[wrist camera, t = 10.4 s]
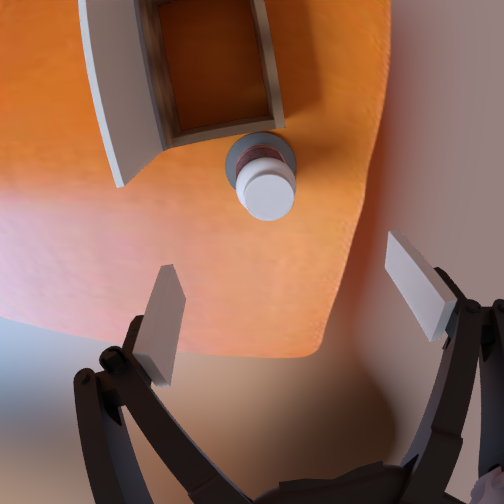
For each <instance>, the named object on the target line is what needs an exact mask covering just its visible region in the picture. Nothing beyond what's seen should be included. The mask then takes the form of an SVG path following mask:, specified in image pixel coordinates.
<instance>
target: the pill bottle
mask: <svg viewBox="0 0 504 504" xmlns="http://www.w3.org/2000/svg"><path fill="white" fill-rule="evenodd" d="M236 192H237V196H238V199H239V200H240V202H241V203H242V205H243V206H244V207H245V208H246V209H247V210H248V211H249V213H250V214H251V215H253V216H254V217H256V218H258V219H260V220H264V221H273V220H277V219H279V218H281V217H283V216H285V215H286V214H287V213H288V212H289V211H290V209H291V207H292V205H293V203H294V196H295V192H296V180H295V177H294V174H293V172H292V170H291V169H290V167H289V166H288V164H287V162H286V161H285V159H284V157H283V156H282V154H281V153H280V152H279V151H278V150H277V149H275V148H274V147H272V146H269V145H265V144H257V145H253V146H251V147H249V148H247V149H246V150H244V151H243V152H242V153H241V155H240V156H239V158H238V161H237V165H236Z"/></svg>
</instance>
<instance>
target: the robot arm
mask: <svg viewBox="0 0 504 504" xmlns="http://www.w3.org/2000/svg"><path fill="white" fill-rule="evenodd" d="M385 269H386V270H387V272H388V273H389V275H390V276H391V278H392V280H393V281H394V283H395V284H396V286H397V287H398V289H399V290H400V292H401V294H402V295H403V297H404V298H405V300H406V302H407V303H408V305H409V307H410V308H411V310H412V312H413V313H414V315H415V317H416V318H417V320H418V322H419V323H420V325H421V327H422V329H423V330H424V332H425V334H426V336H427V338H428V339H429V341H430V342H432V341H435V340H438V339H441V338H442V336H443V334H444V331H446V333H447V334H448V337H447V339H446V342H445V344H444V346H443V349H444V351H443V355H442V359H441V363H440V367H439V370H438V374H437V377H436V380H435V384H434V387H433V390H432V393H431V396H430V399H429V402H428V404H427V407H426V410H425V413H424V415H423V418H422V421H421V423H420V426H419V428H418V431H417V433H416V435H415V438H414V440H413V442H412V444H411V447H410V449H409V451H408V453H407V454H406V455H405V457H404V458H403V460H402V462H401V464H400V465H399V466H396V465H387V464H385V465H383V462H382V461H379V462H376V463H372V464H369V465H365V466H362V467H358V468H356V469H354V470H352V471H350V472H348V473H346V474H344V475H342V476H340V477H338V478H335V479H332V480H325V479H300V480H292V481H284V482H279V486H277V487H274V488H272V489H270V490H268V491H266V492H264V493H263V494H261V495H260V496H259V497H257V498H256V499H255V500H254V501H253V500H252V499H251V498H250V497H248V496H247V495H246V494H245V493H244V492H243V491H242V490H241V489H239V488H238V487H237V486H236V485H235V484H234V483H233V482H232V481H231V480H230V479H229V478H228V477H227V476H226V475H225V474H224V473H223V472H222V471H221V470H220V469H219V468H218V467H217V466H216V465H214V463H213V462H212V461H211V460H210V459H209V458H208V457H207V456H206V455H205V454H204V453H203V452H202V450H201V449H200V448H199V447H198V446H197V445H196V444H195V443H194V441H193V440H192V439H191V438H190V437H189V436H188V434H187V433H186V432H185V431H184V430H183V429H182V428H181V426H180V425H179V424H178V423H177V422H176V420H175V419H174V418H173V416H172V415H171V414H170V413H169V411H168V410H167V409H166V407H164V405H163V403H162V402H161V401H160V400H159V398H158V397H157V395H156V394H155V393H154V392H153V390H152V389H151V382H153V383H154V384H155V386H157V387H163V386H170V384H171V378H172V372H173V365H174V360H175V354H176V349H177V343H178V338H179V332H180V327H181V322H182V316H183V311H184V306H185V301H186V298H185V295H184V293H183V290H182V287H181V285H180V282H179V279H178V277H177V274H176V271H175V269H174V266H173V264H171V265H165V266H161V268H160V271H159V274H158V276H157V279H156V282H155V285H154V288H153V290H152V293H151V296H150V299H149V302H148V305H147V308H146V311H145V314H144V315H139V316H136V317H135V318H134V319H133V320H132V322H131V323H130V326H129V329H128V332H127V335H126V338H125V341H124V343H123V346H122V348H120V347H118V346H111V347H109V348H107V349H106V350H104V351H103V352H102V354H101V356H100V358H99V362H100V365H101V366H102V367H103V368H104V371H101V372H98V373H95V372H94V371H93V370H92V369H90V368H84V369H81V370H80V371H79V372H78V373H77V374H76V375H75V377H74V382H73V383H74V395H75V404H76V413H77V420H78V428H79V434H80V439H81V446H82V451H83V456H84V460H85V465H86V470H87V473H88V478H89V482H90V486H91V490H92V493H93V496H94V500H95V503H96V504H154V503H153V501H152V498H151V496H150V494H149V491H148V489H147V487H146V484H145V481H144V479H143V476H142V473H141V471H140V468H139V465H138V462H137V460H136V456H135V453H134V450H133V447H132V444H131V441H130V438H129V434H128V431H127V427H126V424H125V421H124V417H123V413H122V409H121V406H124V405H126V407H127V408H128V410H129V412H130V413H131V415H132V417H133V418H134V420H135V421H136V423H137V425H138V426H139V428H140V429H141V431H142V432H143V433H144V435H145V437H146V438H147V440H148V441H149V443H150V444H151V445H152V447H153V448H154V450H155V451H156V452H157V454H158V455H159V456H160V458H161V459H162V460H163V462H164V463H165V464H166V466H167V467H168V468H169V470H170V471H171V472H172V473H173V475H174V476H175V477H176V479H177V480H178V481H179V482H180V483H181V484H182V486H183V487H184V488H185V489H186V491H187V492H188V496H189V498H190V499H191V500H192V501H193V503H194V504H466V503H464V502H462V501H460V500H458V499H457V498H455V497H453V496H451V495H449V494H448V493H446V492H444V491H445V489H446V487H447V484H448V482H449V480H450V477H451V475H452V472H453V470H454V467H455V464H456V462H457V459H458V456H459V453H460V451H461V448H462V444H463V438H461V432H462V429H463V426H464V422H465V418H466V415H467V411H468V407H469V402H470V398H471V394H472V390H473V385H474V379H475V374H476V368H477V362H478V357H479V368H480V382H481V437H480V451H479V465H478V473H479V474H478V475H479V479H478V481H477V482H476V484H475V485H474V488H473V489H472V491H471V497H472V500H471V502H470V503H469V504H504V300H503V299H497V300H495V301H494V303H493V305H492V307H481V305H480V304H479V303H478V302H477V301H474V300H471V299H467V298H466V297H465V296H464V294H463V293H462V292H461V291H460V289H459V288H458V287H457V285H456V284H454V282H453V280H452V279H450V277H449V276H448V274H447V273H446V272H445V271H443V270H442V269H440V268H439V267H436V268H433V267H432V266H431V265H430V264H429V263H428V262H427V260H426V259H425V258H424V257H423V256H422V254H421V253H420V252H419V251H418V250H417V249H416V248H415V246H414V245H413V244H412V243H411V242H410V241H409V240H408V238H407V237H406V236H405V235H404V234H403V233H402V232H401V231H400V230H399V229H398V230H392V231H389V233H388V244H387V253H386V261H385Z"/></svg>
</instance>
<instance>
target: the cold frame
mask: <svg viewBox="0 0 504 504" xmlns="http://www.w3.org/2000/svg"><path fill="white" fill-rule="evenodd" d="M173 1H177V0H139V6H140V12H141V19H142V25H143V31H144V37H145V43H146V49H147V54H148V60H149V65H150V70H151V75H152V80H153V85H154V90H155V95H156V99H157V104H158V109H159V113H160V118H161V122H162V126H163V131H164V135H165V139H166V143H167V148H168V149H170V148H174V147H178V146H183V145H187V144H192V143H196V142H201V141H206V140H211V139H216V138H221V137H227V136H232V135H238V134H244V133H250V132H257V131H264V130H271V129H279V128H286V127H285V120H284V113H283V106H282V99H281V92H280V86H279V79H278V73H277V67H276V61H275V55H274V49H273V44H272V38H271V33H270V27H269V22H268V17H267V12H266V7H265V2H264V0H249V3H250V8H251V13H252V18H253V23H254V29H255V34H256V39H257V45H258V50H259V56H260V62H261V68H262V73H263V79H264V85H265V92H266V98H267V104H268V111H269V115H266V116H259V117H252V118H246V119H239V120H234V121H228V122H222V123H217V124H212V125H207V126H202V127H198V128H193V129H189V130H184V131H182V130H181V126H180V121H179V116H178V112H177V107H176V102H175V98H174V93H173V88H172V83H171V78H170V73H169V68H168V62H167V57H166V52H165V46H164V41H163V35H162V29H161V23H160V18H159V11H158V6H159V5H162V4H166V3H169V2H173Z"/></svg>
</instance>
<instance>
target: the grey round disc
mask: <svg viewBox="0 0 504 504" xmlns="http://www.w3.org/2000/svg"><path fill="white" fill-rule="evenodd" d="M257 144H265V145H269V146H272V147H274V148H275V149H277V150H278V151H279V152H280V153H281V154H282V156H283V157H284V159H285V161H286V162H287V164H288V166H289V167H290V169H291V170H292V172H293V174H294V176H295V173H296V159H295V156H294V153H293V151H292V149H291V148H290V146H289V145H288V144H287V143H286V142H285V141H284V140H283V139H281V138H280V137H278V136H276V135H274V134H271V133H266V132H256V133H251V134H248V135H246V136H244V137H242V138H241V139H239V140H238V141H237V142H236V143H235V144H234V145H233V146H232V147H231V149H230V151H229V153H228V155H227V159H226V175H227V178H228V180H229V182H230V184H231V185H232V187H233V188H234V189H235V190H236V165H237V161H238V158H239V156H240V155H241V153H242V152H243V151H244V150H246V149H247V148H249V147H251V146H253V145H257Z"/></svg>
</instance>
